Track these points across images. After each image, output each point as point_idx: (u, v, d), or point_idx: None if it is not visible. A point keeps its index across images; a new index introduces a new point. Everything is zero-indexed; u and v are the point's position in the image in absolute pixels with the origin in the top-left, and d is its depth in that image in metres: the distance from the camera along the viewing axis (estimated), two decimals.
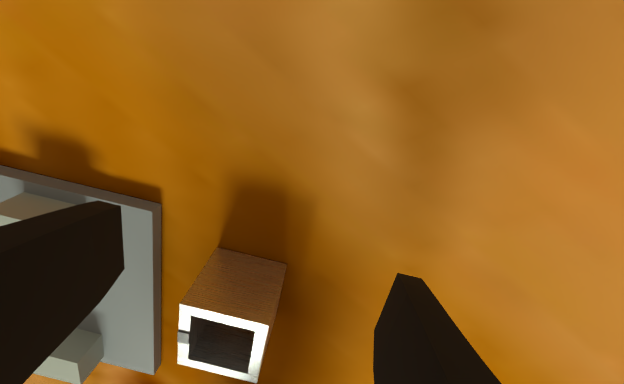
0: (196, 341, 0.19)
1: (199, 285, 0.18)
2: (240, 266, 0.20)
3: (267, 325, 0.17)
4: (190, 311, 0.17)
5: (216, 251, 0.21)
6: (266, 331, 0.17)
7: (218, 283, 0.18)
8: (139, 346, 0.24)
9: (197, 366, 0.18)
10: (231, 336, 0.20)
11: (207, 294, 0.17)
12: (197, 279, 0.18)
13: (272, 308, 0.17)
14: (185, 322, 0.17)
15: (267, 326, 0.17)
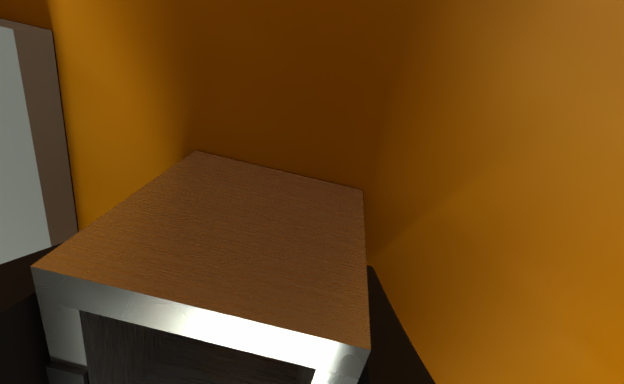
0: None
1: (127, 217, 0.06)
2: (252, 185, 0.08)
3: (365, 348, 0.04)
4: (75, 295, 0.04)
5: (192, 156, 0.08)
6: (358, 370, 0.04)
7: (189, 215, 0.06)
8: None
9: None
10: (229, 366, 0.08)
11: (148, 241, 0.05)
12: (126, 203, 0.06)
13: (363, 288, 0.05)
14: (67, 336, 0.05)
15: (364, 352, 0.04)
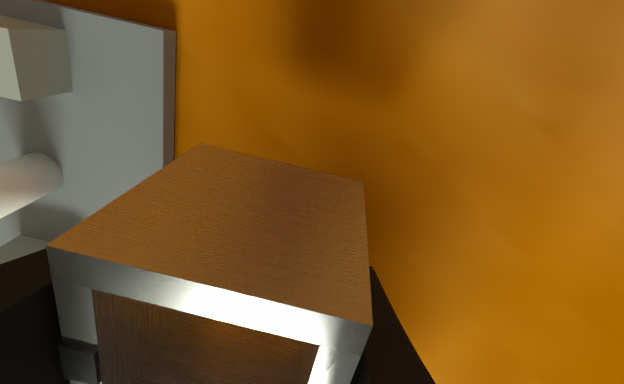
0: (139, 368, 0.07)
1: (136, 203, 0.06)
2: (256, 176, 0.08)
3: (367, 324, 0.04)
4: (88, 274, 0.05)
5: (197, 148, 0.09)
6: (360, 346, 0.05)
7: (196, 202, 0.06)
8: None
9: None
10: (233, 353, 0.08)
11: (157, 225, 0.05)
12: (134, 190, 0.06)
13: (365, 270, 0.05)
14: (79, 316, 0.05)
15: (367, 328, 0.04)
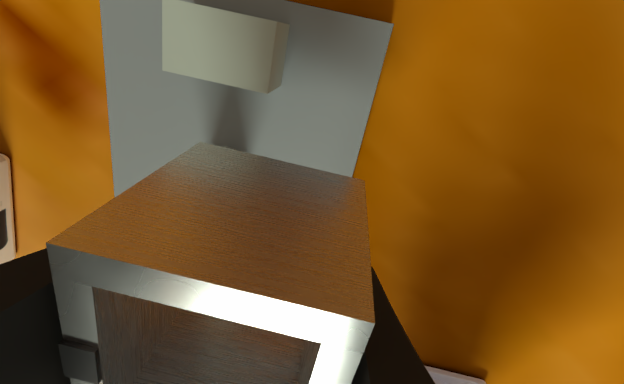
0: (139, 367, 0.07)
1: (137, 200, 0.06)
2: (257, 174, 0.08)
3: (369, 322, 0.04)
4: (88, 272, 0.05)
5: (198, 147, 0.09)
6: (362, 344, 0.05)
7: (196, 200, 0.06)
8: None
9: None
10: (233, 352, 0.08)
11: (158, 222, 0.05)
12: (135, 188, 0.06)
13: (367, 268, 0.05)
14: (79, 313, 0.05)
15: (369, 325, 0.04)
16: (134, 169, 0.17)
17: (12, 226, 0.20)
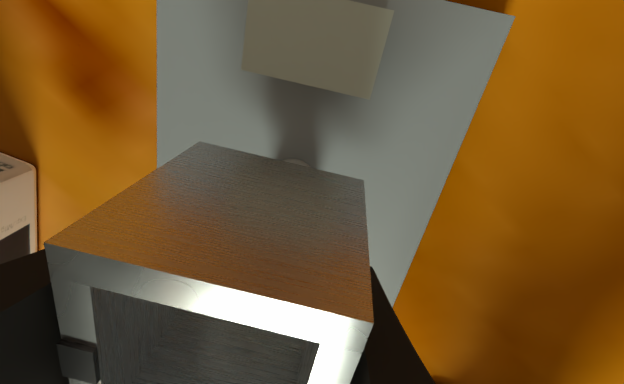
0: (138, 367, 0.07)
1: (135, 200, 0.06)
2: (256, 174, 0.08)
3: (368, 322, 0.04)
4: (86, 271, 0.05)
5: (197, 146, 0.09)
6: (361, 344, 0.05)
7: (195, 200, 0.06)
8: None
9: None
10: (233, 352, 0.08)
11: (156, 222, 0.05)
12: (133, 187, 0.06)
13: (366, 268, 0.05)
14: (77, 313, 0.05)
15: (368, 325, 0.04)
16: None
17: (35, 242, 0.18)
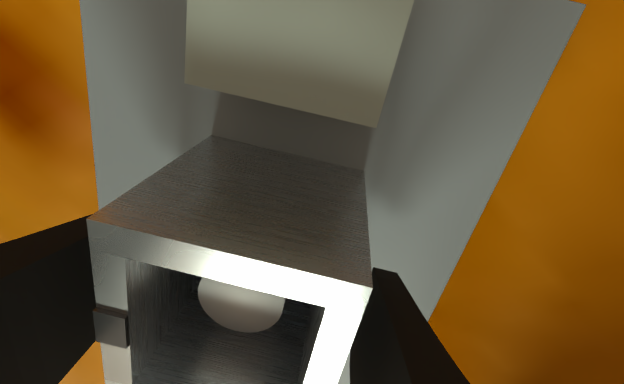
0: (159, 340, 0.08)
1: (160, 185, 0.07)
2: (265, 164, 0.09)
3: (368, 287, 0.05)
4: (122, 244, 0.05)
5: (209, 139, 0.09)
6: (361, 307, 0.05)
7: (212, 186, 0.07)
8: None
9: None
10: None
11: (180, 204, 0.06)
12: (156, 175, 0.07)
13: (366, 245, 0.06)
14: (112, 283, 0.06)
15: (367, 290, 0.05)
16: None
17: None
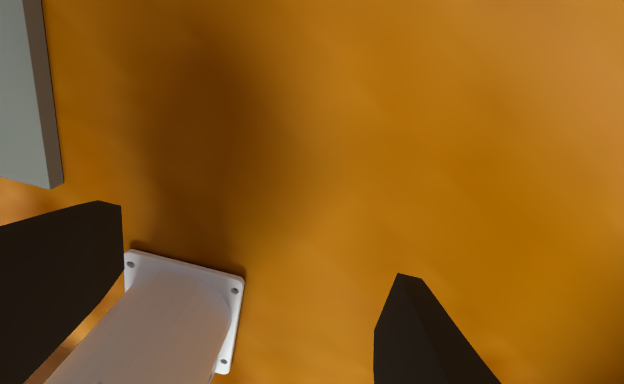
0: None
1: None
2: None
3: None
4: None
5: None
6: None
7: None
8: (23, 137, 0.18)
9: None
10: None
11: None
12: None
13: None
14: None
15: None
16: None
17: None
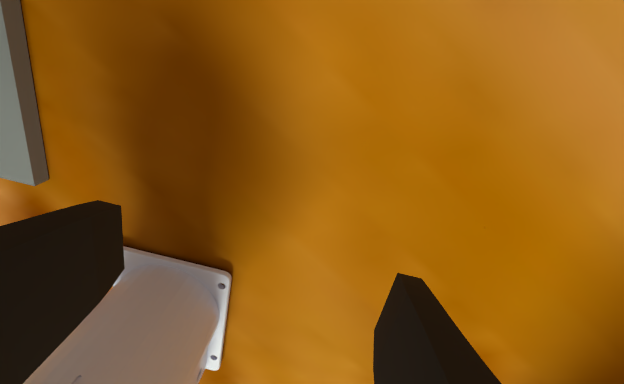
0: None
1: None
2: None
3: None
4: None
5: None
6: None
7: None
8: (6, 133, 0.18)
9: None
10: None
11: None
12: None
13: None
14: None
15: None
16: None
17: None
